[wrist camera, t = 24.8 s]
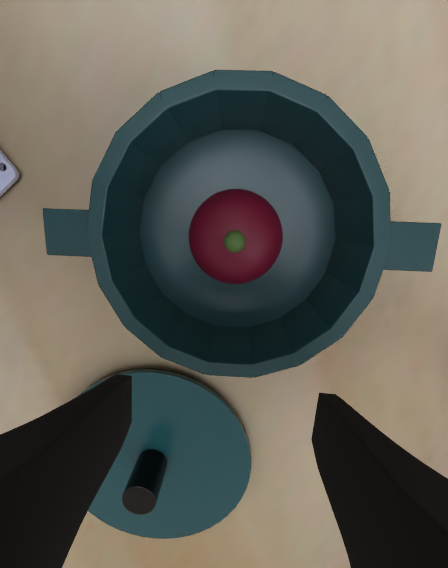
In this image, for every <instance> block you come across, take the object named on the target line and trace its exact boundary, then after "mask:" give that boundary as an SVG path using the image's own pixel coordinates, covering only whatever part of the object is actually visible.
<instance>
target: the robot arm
mask: <svg viewBox="0 0 448 568" xmlns="http://www.w3.org/2000/svg"><path fill="white" fill-rule="evenodd" d="M4 165H6V170H4V168H3V166H4ZM18 178H19V172H18V170H17V169H16V168H15V166H14V165H13V164H12V163H11V162H10V161H9V159H8V158H7V157H6V156H5V155H4V154H3V152H2V151H1V150H0V197H1V196H2V195H3V194H4V193H5V192H6V191H7V190H8V189H9V188H10V187H11V186H12V185H13V184H14V183H15V182H16V181H17V180H18ZM131 423H132V376H130V375H119V374H116V375H114V376H112V377H110V378H109V379H107V380H105V381H103V382H102V383H100V384H98V385H97V386H95V387H93V388H92V389H90V390H88V391H86V392H85V393H83V394H81V395H80V396H78V397H76V398H75V399H73V400H71V401H69V402H67V403H65V404H64V405H62V406H60V407H58V408H56V409H54V410H52V411H51V412H49V413H47V414H45V415H43V416H41V417H39V418H37V419H35V420H33V421H30V422H28V423H26V424H24V425H22V426H19V427H17V428H15V429H13V430H10V431H8V432H6V433H3V434H1V435H0V568H62V566H63V564H64V561H65V559H66V557H67V554H68V552H69V550H70V548H71V545H72V543H73V541H74V539H75V536H76V534H77V532H78V529H79V527H80V525H81V523H82V521H83V519H84V517H85V515H86V513H87V511H88V509H89V507H90V505H91V503H92V502H93V500H94V498H95V496H96V494H97V492H98V491H99V489H100V487H101V485H102V483H103V481H104V480H105V478H106V476H107V474H108V472H109V470H110V469H111V467H112V465H113V463H114V461H115V459H116V457H117V456H118V454H119V452H120V450H121V448H122V446H123V443H124V441H125V438H126V436H127V433H128V431H129V428H130V425H131ZM312 443H313V448H314V453H315V457H316V462H317V466H318V469H319V472H320V475H321V478H322V481H323V484H324V487H325V490H326V493H327V495H328V498H329V501H330V504H331V507H332V510H333V512H334V515H335V518H336V521H337V524H338V527H339V529H340V532H341V535H342V538H343V541H344V545H345V548H346V551H347V554H348V558H349V562H350V566H351V568H448V479H447V478H445V477H444V476H442V475H441V474H439V473H438V472H436V471H435V470H433V469H432V468H430V467H429V466H427V465H426V464H424V463H423V462H421V461H420V460H418V459H417V458H415V457H414V456H412V455H411V454H410V453H408V452H407V451H406V450H404V449H403V448H402V447H400V446H399V445H398V444H396V443H395V442H394V441H392V440H391V439H390V438H388V437H387V436H386V435H385V434H383V433H382V432H381V431H379V430H378V429H377V428H376V427H375V426H373V425H372V424H371V423H370V422H368V421H367V420H366V419H365V418H364V417H363V416H361V415H360V414H359V413H358V412H357V411H355V410H354V409H353V408H352V407H351V406H350V405H348V404H347V403H346V402H345V401H343V400H342V399H341V398H340V397H338V396H337V395H336V394H326V393H319V397H318V403H317V409H316V415H315V422H314V428H313V434H312Z"/></svg>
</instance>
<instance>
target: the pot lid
mask: <svg viewBox="0 0 448 568" xmlns="http://www.w3.org/2000/svg"><path fill="white" fill-rule="evenodd" d="M117 374H119V375H130V376H132V423H131V425H130V428H129V431H128V433H127V436H126V438H125V441H124V443H123V446H122V448H121V450H120V452H119V454H118V456H117V457H116V459H115V461H114V463H113V465H112V467H111V469H110V470H109V472H108V474H107V476H106V478H105V480H104V481H103V483H102V485H101V487H100V489H99V491H98V492H97V494H96V496H95V498H94V500H93V502H92V503H91V505H90V507H89V509H88V511H89V512H90V513H92V514H93V515H94V516H96V517H97V518H98V519H100V520H101V521H103V522H105V523H106V524H108V525H110V526H112V527H114V528H116V529H119V530H121V531H124V532H127V533H130V534H133V535H137V536H142V537H149V538H163V539H167V538H179V537H184V536H189V535H192V534H196V533H199V532H201V531H204V530H206V529H208V528H210V527H212V526H214V525H215V524H217V523H219V522H220V521H221V520H223V519H224V518H225V517H226V516H228V515H229V513H230V512H231V511H232V510H233V509H234V508H235V507H236V506H237V504H238V503H239V501H240V500H241V498H242V496H243V494H244V492H245V490H246V488H247V485H248V481H249V478H250V471H251V452H250V446H249V441H248V438H247V435H246V432H245V430H244V428H243V425H242V423H241V421H240V420H239V418H238V417H237V415H236V414H235V412H234V411H233V410H232V408H231V407H230V406H229V405H228V404H227V403H226V402H225V401H224V400H223V399H222V398H221V397H220V396H219V395H218V394H216V393H215V392H214V391H212V390H211V389H209V388H208V387H206V386H205V385H203V384H201V383H199V382H197V381H196V380H194V379H191V378H189V377H186V376H183V375H181V374H177V373H173V372H169V371H163V370H155V369H138V370H130V371H124V372H121V373H117ZM114 375H116V374H113V375H111V376H108V377H106V378H103V379H101V380H100V381H98V382H96V383H94V384H93V385H91V386H90V387H89V388H87V389H86V390H85V391H84V392H83V393H85V392H86V391H88V390H90V389H92V388H93V387H95V386H97V385H98V384H100V383H102V382H103V381H105V380H107V379H109V378H110V377H112V376H114ZM83 393H82V394H83Z"/></svg>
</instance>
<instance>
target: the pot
mask: <svg viewBox="0 0 448 568" xmlns="http://www.w3.org/2000/svg"><path fill="white" fill-rule="evenodd" d="M92 181H93V182H92V188H91V197H90V207H89V210H73V209H46V208H44V209H43V218H44V228H45V239H46V249H47V254H48V255H63V256H86V257H92V260H93V264H94V269H95V273H96V277H97V281H98V284H99V287H100V288H101V290H102V292H103V293H104V295H105V296H106V298H107V300H108V301H109V303H110V304H111V306H112V308H113V309H114V311H115V312H116V314H117V316H118V317H119V319H120V321H121V322H122V324H123V325H124V326H125V328H126V329H128V330H129V331H130V332H131V333H132V334H134V335H135V336H136V337H137V338H138V339H140V340H141V341H142V342H143V343H144V344H146V345H147V346H148V347H149V348H150V349H152V350H153V351H154V352H155V353H156V354H158V355H159V356H160V357H162V358H164V359H167V360H169V361H172V362H174V363H177V364H179V365H182V366H184V367H187V368H189V369H192V370H194V371H197V372H199V373H202V374H206V375H216V376H233V377H250V378H252V377H258V376H262V375H266V374H269V373H273V372H277V371H281V370H285V369H288V368H292V367H296V366H299V365H301V364H303V363H304V362H306V361H307V360H309V359H310V358H312V357H313V356H315V355H316V354H318V353H319V352H321V351H322V350H324V349H326V348H327V347H329V346H330V345H332V344H333V343H335V342H336V341H338V340H339V339H340V338H342V337H343V336H344V335H345V333H346V332H347V331H348V329H349V328H350V327H351V326H352V324H353V323H354V322H355V321H356V319H357V318H358V317H359V315H360V314H361V313H362V312H363V310H364V309H365V308H366V307H367V305H368V304H369V303H370V301H371V300H372V299H373V297H374V294H375V291H376V288H377V286H378V283H379V280H380V277H381V274H382V271H383V270H403V271H426V272H431V271H432V269H433V264H434V259H435V254H436V249H437V243H438V238H439V233H440V228H441V224H440V223H418V222H391V221H390V192H389V188H388V186H387V183H386V181H385V179H384V176H383V174H382V171H381V169H380V166H379V164H378V161H377V159H376V156H375V154H374V151H373V149H372V146H371V144H370V141H369V139H367V136H366V135H365V134H364V133H363V132H362V131H361V130H360V129H359V128H358V127H357V126H356V125H355V123H354V122H353V121H352V120H351V119H350V118H349V117H348V116H347V115H346V114H345V113H344V112H343V111H342V110H341V109H340V108H339V107H338V106H337V105H336V104H335V102H334V101H333V100H332V99H331V98H330V97H329V96H327V95H325V94H323V93H321V92H319V91H316V90H314V89H312V88H310V87H307V86H305V85H303V84H301V83H298V82H296V81H294V80H291V79H289V78H287V77H285V76H282V75H280V74H278V73H276V72H273V71H244V70H214V72H213V71H211V72H208V73H206V74H203V75H201V76H198V77H196V78H193V79H190V80H188V81H185V82H183V83H180V84H178V85H175V86H173V87H170V88H168V89H165V90H162V91H160V93H157V94H156V95H155V96H154V97H153V98H152V99H151V100H150V101H149V102H147V103H146V104H145V105H144V106H143V107H142V108H141V109H140V110H139V111H138V112H137V113H136V114H135V115H134V116H133V117H131V118H130V119H129V120H128V121H127V122H126V123H125V124H124V125H123V126H122V127H121V128H120V129H119V130H118V132H117V131H116V133H115V135H114V137H113V139H112V141H111V143H110V145H109V147H108V149H107V151H106V153H105V156H104V158H103V160H102V162H101V164H100V166H99V168H98V170H97V172H96V174H95V176H94V178H93V180H92ZM228 189H244V190H249V191H252V192H254V193H256V194H258V195H260V196H262V197H263V198H265V199H266V200H267V201H268V202H269V203H270V204H271V205H272V206H273V208H274V209H275V211H276V212H277V214H278V216H279V219H280V222H281V225H282V231H283V241H282V247H281V251H280V253H279V256H278V258H277V260H276V262H275V263H274V264H273V266H272V267H271V268H270V269H269V270H268V271H267V272H266V273H265V274H264V275H262V276H261V277H259V278H257V279H255V280H253V281H250V282H247V283H242V284H228V283H223V282H220V281H218V280H216V279H214V278H212V277H210V276H209V275H207V274H206V273H205V272H204V271H203V270H202V269H201V268H200V267H199V266H198V264H197V263H196V261H195V259H194V258H193V255H192V253H191V250H190V245H189V228H190V224H191V220H192V218H193V216H194V214H195V212H196V210H197V209H198V207H199V206H200V205H201V204H202V203H203V202H204V201H205V200H206V199H207V198H209V197H210V196H212V195H214V194H215V193H218V192H220V191H223V190H228Z"/></svg>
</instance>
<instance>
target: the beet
mask: <svg viewBox="0 0 448 568" xmlns="http://www.w3.org/2000/svg"><path fill="white" fill-rule="evenodd" d="M282 241H283V231H282V225H281V222H280V219H279V216H278V214H277V212H276V211H275V209H274V208H273V206H272V205H271V204H270V203H269V202H268V201H267V200H266V199H265V198H263V197H262V196H260V195H258V194H256V193H254V192H252V191H249V190H244V189H228V190H223V191H220V192H218V193H215V194H214V195H212V196H210V197H209V198H207V199H206V200H205V201H204V202H203V203H202V204H201V205H200V206H199V207H198V209H197V210H196V212H195V214H194V216H193V218H192V220H191V224H190V228H189V245H190V250H191V253H192V255H193V258H194V259H195V261H196V263H197V264H198V266H199V267H200V268H201V269H202V270H203V271H204V272H205V273H206V274H207V275H209V276H210V277H212V278H214V279H216V280H218V281H220V282H223V283H228V284H242V283H247V282H250V281H253V280H255V279H257V278H259V277H261V276H262V275H264V274H265V273H266V272H267V271H268V270H269V269H270V268H271V267H272V266H273V264H274V263H275V262H276V260H277V258H278V256H279V253H280V251H281V247H282Z"/></svg>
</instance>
